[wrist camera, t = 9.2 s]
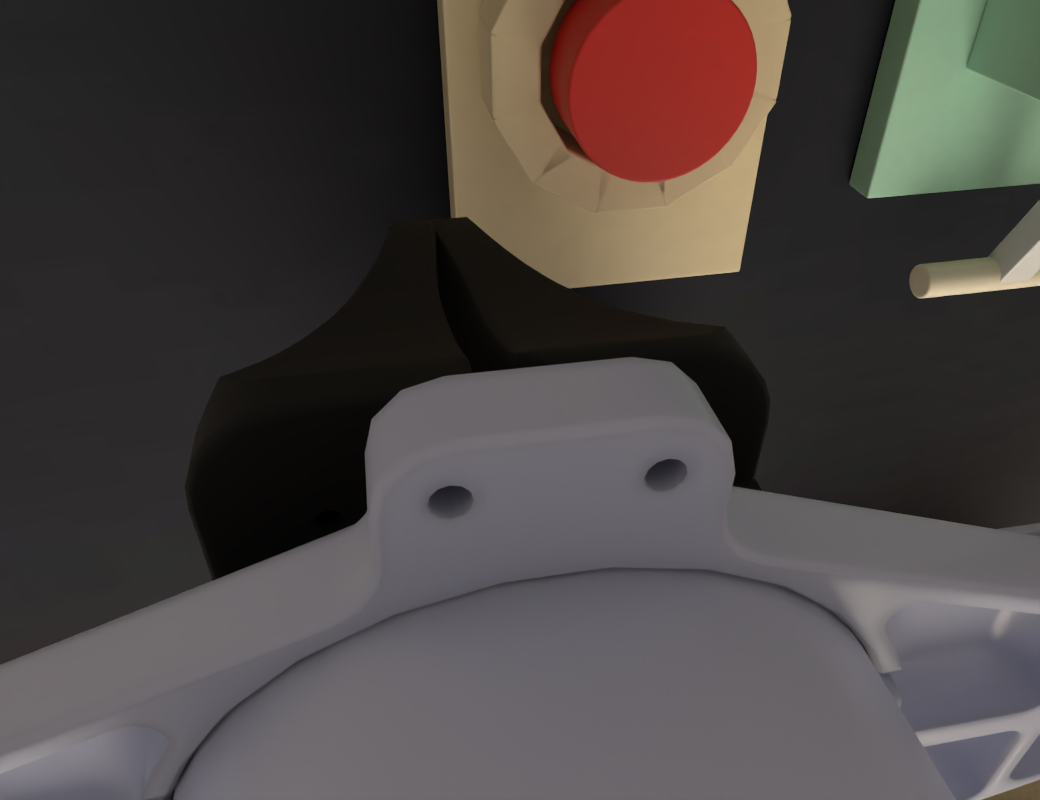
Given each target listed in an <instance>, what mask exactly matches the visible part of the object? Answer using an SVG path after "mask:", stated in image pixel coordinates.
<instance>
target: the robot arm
mask: <svg viewBox="0 0 1040 800" xmlns="http://www.w3.org/2000/svg"><path fill="white" fill-rule="evenodd" d="M769 407H770V398H769V394H768V390H767V386H766V383H765V380H764V379H763V377H762V376H761V374H760V373H759V372H758V370H757V369H756V368H755V366H754V364H753V363H752V361H751V360H750V358H749V357H748V355H747V354H746V353H745V351H744V350H743V348H742V347H741V346H740V345H739V343H738V342H737V341H736V340H735V338H734V337H733V336H732V335H731V334H730V333H729V332H728V330H727V329H726V328H725V327H720V326H712V325H703V324H694V323H686V322H677V321H671V320H666V319H661V318H656V317H652V316H647V315H642V314H638V313H635V312H631V311H627V310H623V309H620V308H617V307H614V306H611V305H608V304H605V303H602V302H599V301H597V300H594V299H591V298H589V297H586V296H584V295H582V294H579V293H577V292H575V291H573V290H571V289H569V288H567V287H565V286H563V285H561V284H559V283H557V282H555V281H553V280H551V279H549V278H548V277H546V276H544V275H543V274H541V273H540V272H538V271H536V270H535V269H533V268H532V267H530V266H528V265H527V264H525V263H524V262H523V261H521V260H520V259H518V258H517V257H515V256H514V255H513V254H511V253H510V252H509V251H507V250H506V249H505V248H504V247H502V246H501V245H500V244H499V243H497V242H496V241H495V240H494V239H492V238H491V237H490V236H489V235H488V234H486V233H485V232H484V231H483V230H482V229H481V228H479V227H478V226H477V225H476V224H475V223H474V222H472V221H471V220H470V219H469V218H468V217H459V218H445V219H431V220H418V221H404V222H394V223H393V224H392V225H391V226H390V227H389V229H388V233H387V237H386V239H385V242H384V244H383V247H382V249H381V251H380V253H379V255H378V257H377V258H376V260H375V262H374V264H373V266H372V267H371V269H370V271H369V272H368V274H367V276H366V277H365V278H364V280H363V281H362V283H361V284H360V285H359V287H358V288H357V290H356V291H355V292H354V294H353V295H352V296H351V297H350V299H349V300H348V301H347V302H346V303H345V305H344V306H343V307H342V308H341V309H340V310H339V311H338V312H337V313H336V314H335V315H334V316H333V317H332V318H330V319H329V320H328V321H326V322H325V323H324V324H322V325H321V326H320V327H319V328H317V329H316V330H315V331H313V332H312V333H311V334H309V335H308V336H307V337H305V338H304V339H302V340H301V341H299V342H297V343H296V344H294V345H292V346H291V347H289V348H287V349H285V350H283V351H281V352H280V353H278V354H276V355H274V356H272V357H270V358H268V359H265V360H263V361H261V362H259V363H256V364H253V365H251V366H248V367H246V368H243V369H241V370H238V371H235V372H233V373H230V374H227V375H224V376H221V377H220V378H219V379H218V381H217V383H216V386H215V388H214V390H213V392H212V395H211V397H210V399H209V401H208V404H207V406H206V408H205V411H204V413H203V415H202V418H201V420H200V423H199V426H198V429H197V432H196V435H195V439H194V443H193V448H192V453H191V458H190V463H189V468H188V474H187V479H186V484H185V490H186V497H187V504H188V510H189V513H190V516H191V519H192V521H193V524H194V527H195V530H196V533H197V536H198V539H199V542H200V545H201V547H202V550H203V553H204V556H205V559H206V562H207V565H208V568H209V571H210V573H211V576H212V579H213V581H211V582H208V583H205V584H203V585H200V586H198V587H195V588H193V589H190V590H188V591H185V592H183V593H180V594H178V595H175V596H173V597H170V598H168V599H165V600H163V601H160V602H158V603H155V604H153V605H150V606H148V607H145V608H142V609H140V610H137V611H135V612H132V613H130V614H127V615H125V616H122V617H120V618H117V619H115V620H112V621H110V622H107V623H105V624H102V625H100V626H97V627H95V628H92V629H90V630H87V631H85V632H82V633H79V634H77V635H74V636H72V637H69V638H67V639H64V640H62V641H59V642H57V643H54V644H52V645H49V646H47V647H44V648H42V649H39V650H37V651H34V652H32V653H29V654H27V655H24V656H22V657H19V658H17V659H14V660H11V661H9V662H6V663H4V664H1V665H0V800H982V799H985V798H988V797H991V796H994V795H997V794H1000V793H1003V792H1005V791H1008V790H1011V789H1014V788H1017V787H1020V786H1023V785H1025V784H1028V783H1031V782H1034V781H1037V780H1040V523H1036V524H1029V525H1022V526H1015V527H1008V528H1001V529H992V528H986V527H979V526H973V525H967V524H961V523H955V522H949V521H943V520H937V519H930V518H924V517H918V516H912V515H906V514H900V513H894V512H888V511H881V510H875V509H869V508H863V507H857V506H851V505H845V504H839V503H832V502H826V501H820V500H814V499H808V498H802V497H796V496H790V495H783V494H777V493H771V492H765V491H762V490H761V488H760V486H759V485H758V483H757V481H756V480H755V478H754V477H755V473H756V469H757V464H758V460H759V456H760V452H761V448H762V444H763V440H764V436H765V432H766V428H767V424H768V418H769Z"/></svg>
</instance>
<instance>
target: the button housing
mask: <svg viewBox="0 0 1040 800" xmlns="http://www.w3.org/2000/svg"><path fill="white" fill-rule="evenodd" d="M575 1H576V0H437V7H438V23H439V38H440V54H441V70H442V85H443V101H444V117H445V132H446V148H447V163H448V179H449V195H450V210H451V218H459V217H468V218H469V219H470V220H471V221H472V222H474V223H475V224H476V225H477V226H478V227H479V228H481V229H482V230H483V231H484V232H485V233H486V234H488V235H489V236H490V237H491V238H492V239H494V240H495V241H496V242H497V243H499V244H500V245H501V246H502V247H504V248H505V249H506V250H507V251H509V252H510V253H511V254H513V255H514V256H515V257H517V258H518V259H520V260H521V261H523V262H524V263H525V264H527V265H528V266H530V267H532V268H533V269H535V270H536V271H538V272H540V273H541V274H543V275H544V276H546V277H548V278H549V279H551V280H553V281H555V282H557V283H559V284H561V285H563V286H565V287H567V288H578V287H588V286H598V285H608V284H618V283H628V282H639V281H649V280H659V279H669V278H679V277H689V276H699V275H709V274H719V273H730V272H738V271H739V270H740V265H741V260H742V254H743V248H744V243H745V237H746V232H747V226H748V220H749V215H750V209H751V203H752V198H753V192H754V187H755V181H756V175H757V170H758V164H759V159H760V153H761V147H762V142H763V136H764V130H765V125H766V119H767V114H768V113H769V111H770V110H771V109H772V107H773V106H774V104H775V103H776V100H775V99H776V98H777V94H778V88H779V83H780V77H781V72H782V66H783V61H784V55H785V50H786V44H787V39H788V33H789V28H790V23H791V19H790V17H791V12H790V9H789V6H788V3H787V1H788V0H732V1H733V2H734V3H735V4H736V5H737V7H738V8H739V9H740V10H741V12H742V13H743V15H744V17H745V18H746V20H747V22H748V24H749V26H750V29H751V31H752V34H753V38H754V42H755V47H756V54H757V75H756V84H755V88H754V93H753V97H752V100H751V102H750V105H749V108H748V110H747V113H746V115H745V117H744V119H743V121H742V123H741V124H740V126H739V128H738V129H737V131H736V132H735V134H734V135H733V136H732V138H731V139H730V140H729V142H728V143H727V144H726V145H725V146H724V147H723V148H722V149H721V150H720V151H719V152H718V153H717V154H716V155H715V156H714V157H712V158H711V159H710V160H709V161H707V162H706V163H704V164H703V165H702V166H700V167H699V168H697V169H695V170H693V171H691V172H689V173H687V174H685V175H682V176H680V177H677V178H674V179H670V180H666V181H660V182H634V181H629V180H625V179H621V178H619V177H616V176H614V175H612V174H610V173H608V172H606V171H605V170H603V169H601V168H600V167H599V166H598V165H596V164H595V163H594V162H593V161H592V160H591V159H590V158H589V157H588V156H587V154H586V153H585V152H584V151H583V149H582V148H581V146H580V145H579V143H578V142H577V140H576V139H575V137H574V136H573V135H572V133H571V132H570V130H569V129H568V127H567V126H566V124H565V123H564V121H563V120H562V118H561V117H560V115H559V113H558V110H557V108H556V106H555V103H554V100H553V97H552V93H551V87H550V76H549V67H550V56H551V51H552V46H553V43H554V39H555V36H556V33H557V31H558V29H559V26H560V24H561V22H562V20H563V18H564V17H565V15H566V13H567V12H568V10H569V8H570V7H571V6H572V5H573V3H574V2H575Z"/></svg>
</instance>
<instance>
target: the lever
mask: <svg viewBox="0 0 1040 800" xmlns="http://www.w3.org/2000/svg"><path fill="white" fill-rule="evenodd" d="M909 282H910V288H911V291H912V293H913V294H914V295H915V296H916V297H918V298H930V297H939V296H949V295H958V294H967V293H977V292H986V291H995V290H1004V289H1014V288H1023V287H1032V286H1040V200H1039V201H1038V202H1037V203H1036V204H1035V205H1034V206H1033V208H1032V209H1031V210H1030V211H1029V212H1028V213H1027V214H1026V215H1025V216H1024V217H1023V219H1022V220H1021V221H1020V222H1019V223H1018V224H1017V225H1016V226H1015V227H1014V228H1013V230H1012V231H1011V232H1010V233H1009V234H1008V235H1007V236H1006V237H1005V238H1004V239H1003V241H1002V242H1001V243H1000V244H999V245H998V246H997V247H996V248H995V249H994V250H993V252H992V253H991V254H990V255H989V256H988V257H987V258H977V259H967V260H957V261H948V262H938V263H928V264H919V265H917V266H915V267H914V268H913V270H912V271H911V274H910V280H909Z"/></svg>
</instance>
